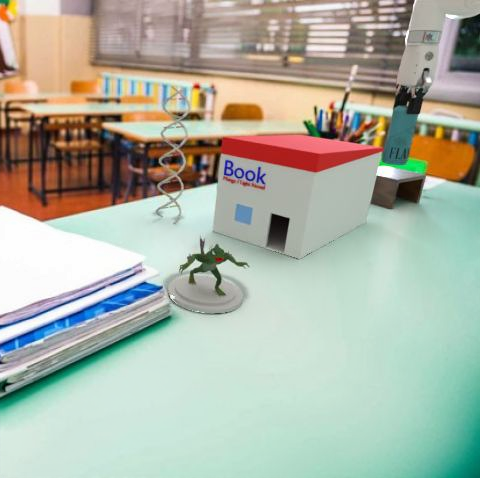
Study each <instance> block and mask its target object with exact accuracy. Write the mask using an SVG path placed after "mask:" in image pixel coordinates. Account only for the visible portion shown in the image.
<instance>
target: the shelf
mask: <svg viewBox="0 0 480 478" xmlns="http://www.w3.org/2000/svg"><path fill="white" fill-rule="evenodd" d="M426 178H427V174H424V173H420V172H415V171H410V170H406V169H402V168H398V167H393V166H388V165H381V166H380V165H379V168H378V172H377V177H376V181H375V185H374V189H373V194H372V198H371V202H370V205H374V206H377V207H381V208H385V209H388V210H392V209H393V208H394V206H395V201H396V199H398V200H402V201H407V202H411V203H414V204H420V202H421V201H420V200H421V197H422V194H423V190H424V186H425V182H426Z"/></svg>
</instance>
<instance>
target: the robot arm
mask: <svg viewBox="0 0 480 478" xmlns="http://www.w3.org/2000/svg"><path fill="white" fill-rule="evenodd" d="M479 14H480V0H414V3H413V7H412V12H411V16H410V21H409V25H408V29H407V33H406V37H405V43H404V46H405V49H404V51H403V54H402V57H401V61H400V64H399V68H398V72H397V76H396V77H397V78H395V84H396V86H395V88H396V90H395V97H394V101H393V102H394V103H393V106H392V110H393V109H394V108H396V107H397V106H408V108H407V112H406V113H407V114H416V115H418V116H419V115H420V114H421V112H422V111H421V110H422V107H423V103H424V99H425V98H426V94H427V93H428V92H429V90H430V89H431V87H433V85H434V82H435V76H436V73H437V66H438V62H439V55H440V53H439V52H440V44H441V43H440V42H441V39H442V36H443V32H444V27H445V23H446V20H447V17H448V18H449V19H452V20H463V19H466V18H468V19H469V18H472V17H475V16H477V15H479ZM410 91H411V93H412V98H410V99H409V102H408V101H400V98H401V94H402V93H410Z"/></svg>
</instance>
